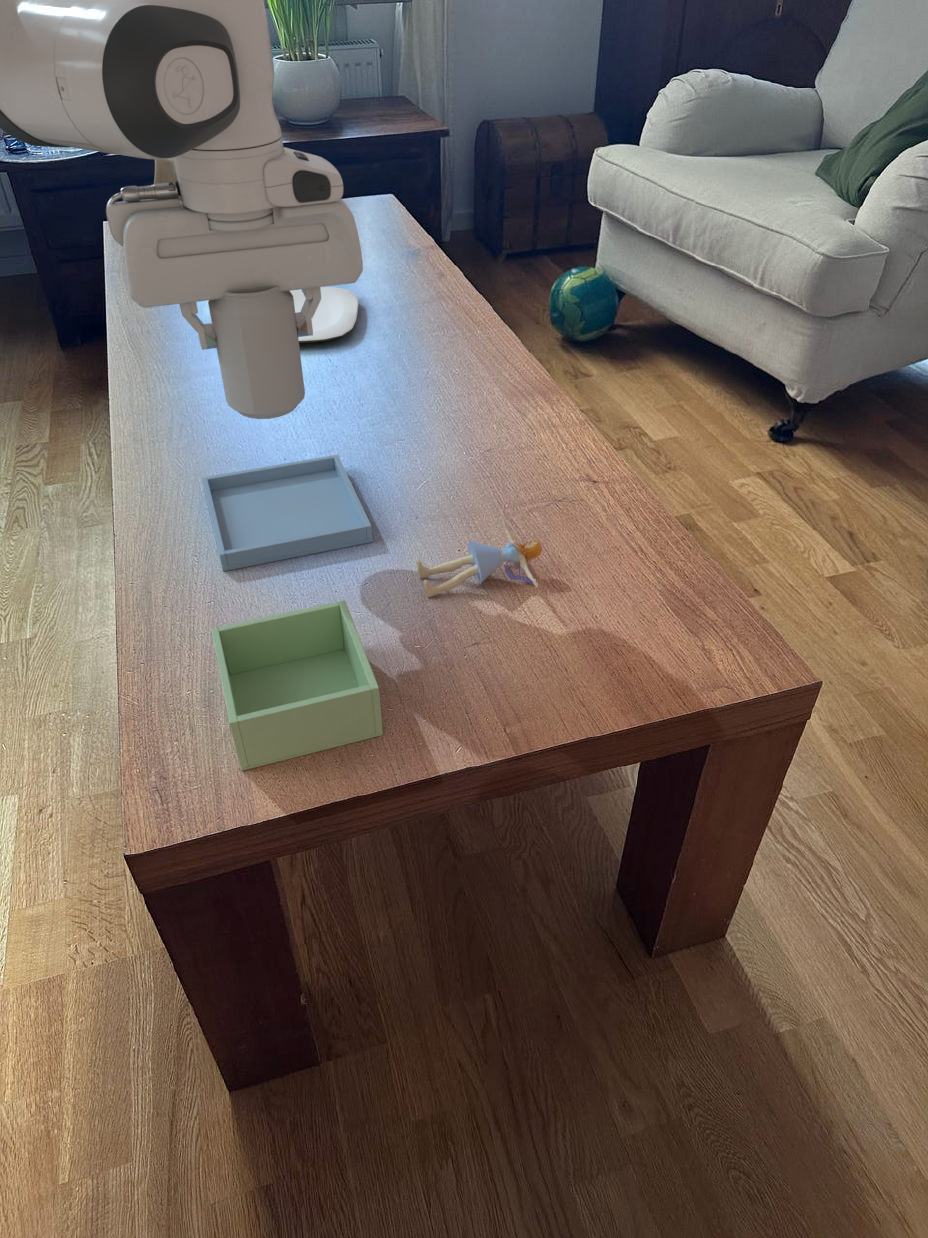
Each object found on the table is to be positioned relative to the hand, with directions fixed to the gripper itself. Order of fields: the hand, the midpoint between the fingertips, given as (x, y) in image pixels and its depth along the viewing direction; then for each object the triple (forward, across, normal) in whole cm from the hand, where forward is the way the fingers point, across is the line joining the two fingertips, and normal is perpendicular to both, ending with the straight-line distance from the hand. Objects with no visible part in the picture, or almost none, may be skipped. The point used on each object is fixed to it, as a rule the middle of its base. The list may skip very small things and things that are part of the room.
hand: (257, 340), depth 81 cm
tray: (+20, 0, 0) cm, 20 cm away
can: (+7, 0, 0) cm, 7 cm away
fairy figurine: (+20, +16, -17) cm, 30 cm away
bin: (+20, -4, -28) cm, 34 cm away
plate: (+20, +10, +53) cm, 57 cm away
